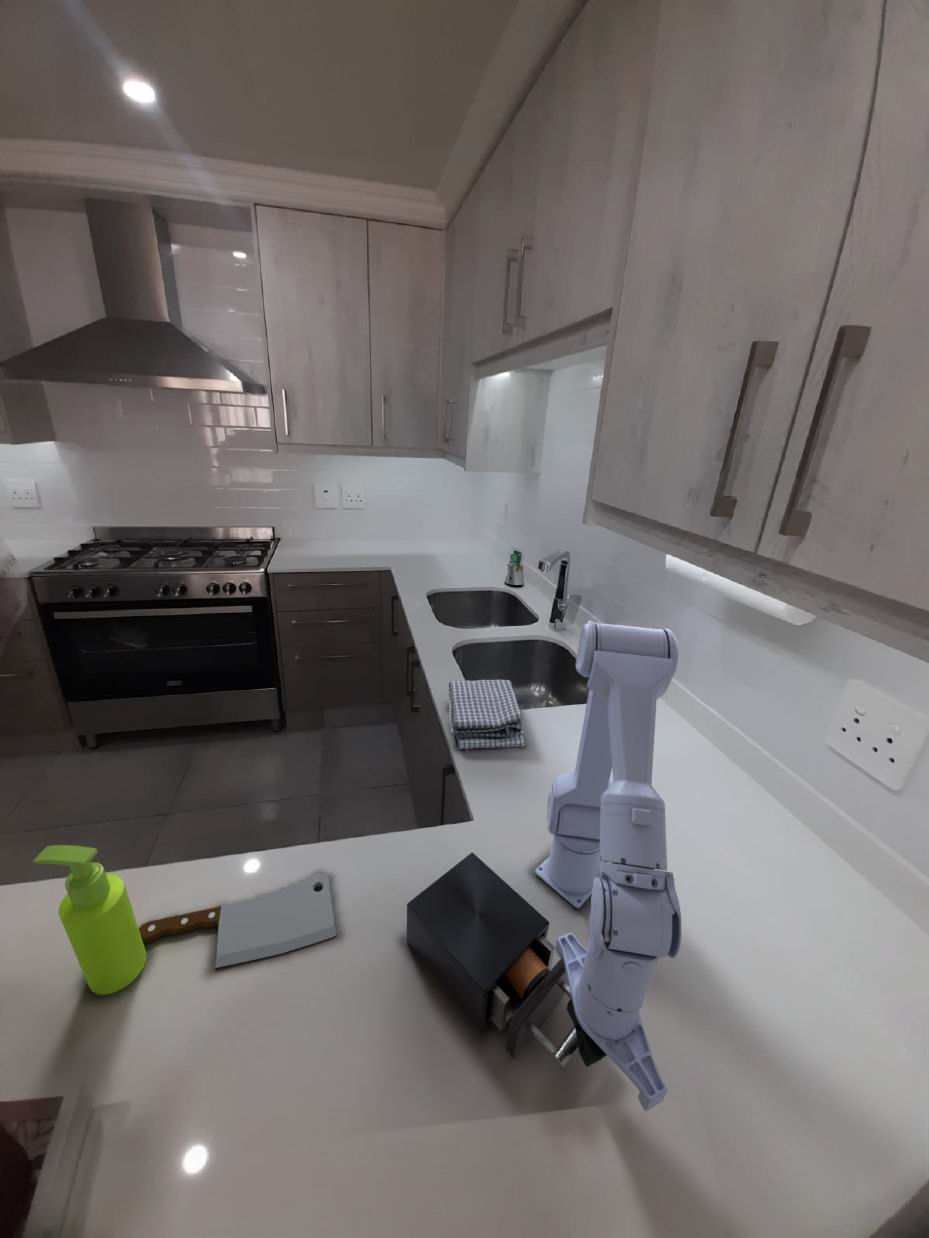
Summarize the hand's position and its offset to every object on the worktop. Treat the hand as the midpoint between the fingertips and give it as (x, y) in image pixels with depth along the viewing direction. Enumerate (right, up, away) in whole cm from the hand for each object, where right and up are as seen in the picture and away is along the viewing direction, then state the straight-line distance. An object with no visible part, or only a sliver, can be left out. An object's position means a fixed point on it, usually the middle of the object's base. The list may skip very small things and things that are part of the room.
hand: (590, 1055), depth 51 cm
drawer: (-7, +1, +7) cm, 10 cm away
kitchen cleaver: (-43, +5, +14) cm, 45 cm away
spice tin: (-7, +5, +8) cm, 12 cm away
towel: (-9, +22, +57) cm, 62 cm away
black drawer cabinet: (-12, +3, +12) cm, 17 cm away
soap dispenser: (-56, +3, +8) cm, 57 cm away
